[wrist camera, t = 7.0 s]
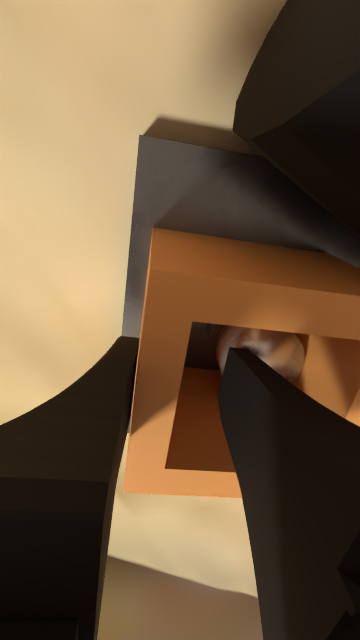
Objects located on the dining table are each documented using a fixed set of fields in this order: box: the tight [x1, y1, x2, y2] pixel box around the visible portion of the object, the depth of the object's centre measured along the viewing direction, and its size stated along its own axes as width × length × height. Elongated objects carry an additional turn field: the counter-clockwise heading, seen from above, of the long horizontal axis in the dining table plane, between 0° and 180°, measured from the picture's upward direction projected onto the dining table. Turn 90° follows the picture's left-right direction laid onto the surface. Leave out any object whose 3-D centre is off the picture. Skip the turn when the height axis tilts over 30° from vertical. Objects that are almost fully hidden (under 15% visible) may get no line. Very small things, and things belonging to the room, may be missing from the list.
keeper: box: [122, 135, 360, 433], centre depth 14 cm, size 14×11×4 cm
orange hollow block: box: [123, 228, 360, 498], centre depth 12 cm, size 8×8×6 cm
